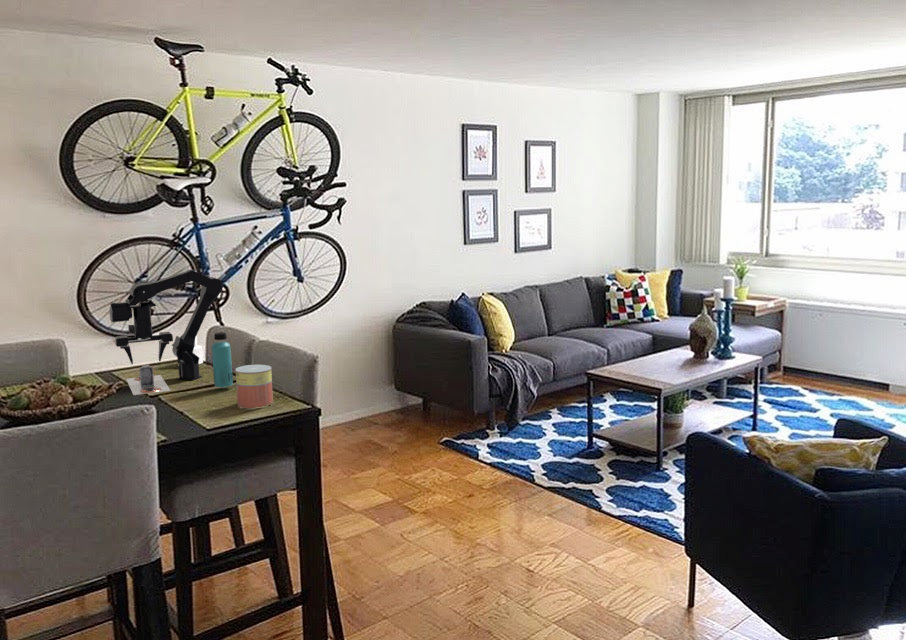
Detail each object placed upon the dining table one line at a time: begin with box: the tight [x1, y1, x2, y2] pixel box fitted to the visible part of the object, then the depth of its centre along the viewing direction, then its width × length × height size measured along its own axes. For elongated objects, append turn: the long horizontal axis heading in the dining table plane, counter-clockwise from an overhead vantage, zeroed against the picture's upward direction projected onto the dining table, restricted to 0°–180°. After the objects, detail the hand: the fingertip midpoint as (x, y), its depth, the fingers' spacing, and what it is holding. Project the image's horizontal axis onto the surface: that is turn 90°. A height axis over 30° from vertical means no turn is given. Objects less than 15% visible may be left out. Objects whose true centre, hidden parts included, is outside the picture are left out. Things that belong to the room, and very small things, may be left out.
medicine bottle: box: [176, 335, 204, 366], centre depth 304 cm, size 7×7×12 cm
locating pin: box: [139, 364, 154, 385], centre depth 274 cm, size 4×4×7 cm
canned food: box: [235, 363, 274, 409], centre depth 246 cm, size 11×11×12 cm
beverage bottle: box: [211, 332, 234, 388], centre depth 265 cm, size 6×7×20 cm
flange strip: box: [125, 373, 171, 396], centre depth 274 cm, size 26×12×2 cm, turn 28°
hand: (146, 362), depth 273 cm, fingers open, 9 cm apart
